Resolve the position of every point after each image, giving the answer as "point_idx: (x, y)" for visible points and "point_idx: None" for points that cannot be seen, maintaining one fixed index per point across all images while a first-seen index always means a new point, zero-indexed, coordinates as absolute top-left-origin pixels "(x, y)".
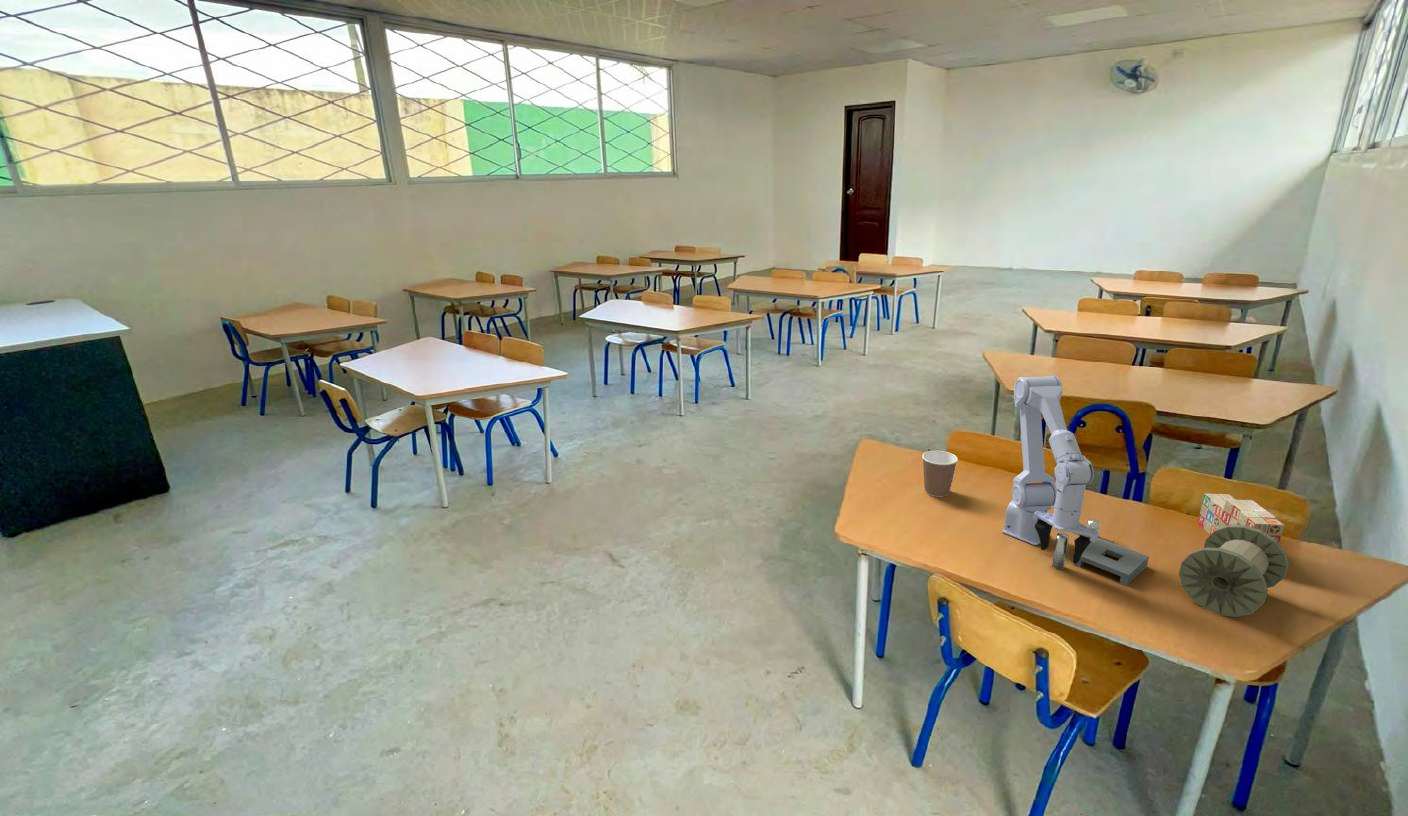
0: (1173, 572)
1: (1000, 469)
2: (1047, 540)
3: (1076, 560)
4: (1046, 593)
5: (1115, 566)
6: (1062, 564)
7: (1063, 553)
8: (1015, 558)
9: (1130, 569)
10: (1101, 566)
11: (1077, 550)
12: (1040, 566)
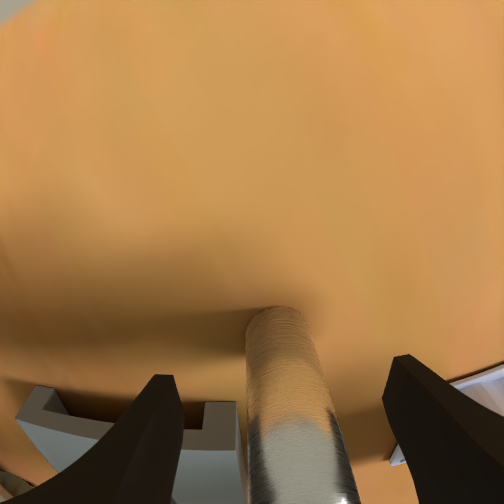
0: None
1: None
2: (410, 435)
3: (141, 393)
4: (167, 9)
5: (72, 448)
6: (248, 346)
7: (254, 408)
8: (470, 227)
9: (44, 450)
10: (105, 431)
11: (99, 466)
12: (351, 261)
